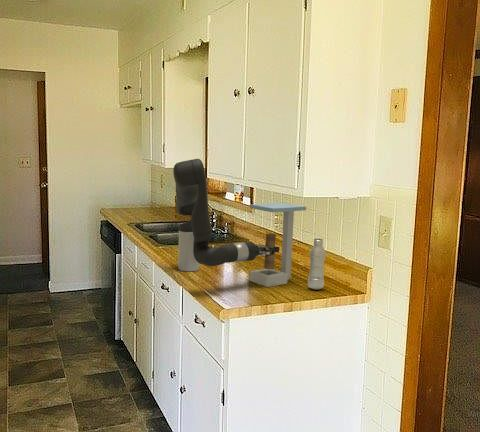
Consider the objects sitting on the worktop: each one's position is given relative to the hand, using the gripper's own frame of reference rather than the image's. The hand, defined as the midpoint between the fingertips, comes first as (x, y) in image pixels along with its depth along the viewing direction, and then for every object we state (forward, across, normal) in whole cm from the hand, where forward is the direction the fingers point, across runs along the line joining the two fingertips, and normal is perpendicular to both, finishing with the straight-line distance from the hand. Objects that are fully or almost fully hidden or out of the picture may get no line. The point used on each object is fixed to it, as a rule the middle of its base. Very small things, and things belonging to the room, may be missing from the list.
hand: (274, 248), depth 215 cm
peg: (-3, 0, +8) cm, 8 cm away
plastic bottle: (+7, -17, +14) cm, 24 cm away
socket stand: (+1, 0, +14) cm, 14 cm away
